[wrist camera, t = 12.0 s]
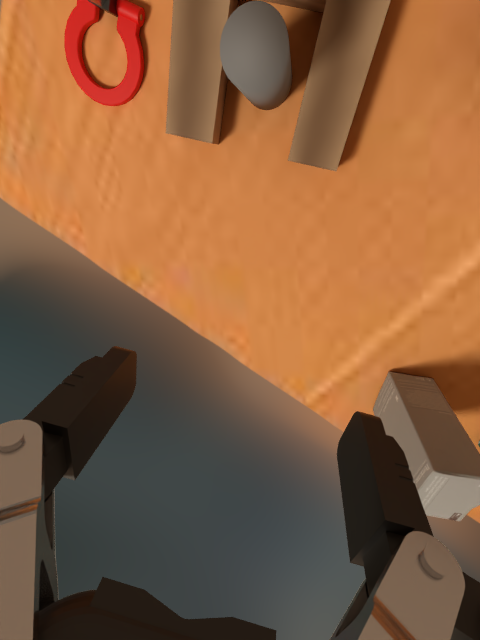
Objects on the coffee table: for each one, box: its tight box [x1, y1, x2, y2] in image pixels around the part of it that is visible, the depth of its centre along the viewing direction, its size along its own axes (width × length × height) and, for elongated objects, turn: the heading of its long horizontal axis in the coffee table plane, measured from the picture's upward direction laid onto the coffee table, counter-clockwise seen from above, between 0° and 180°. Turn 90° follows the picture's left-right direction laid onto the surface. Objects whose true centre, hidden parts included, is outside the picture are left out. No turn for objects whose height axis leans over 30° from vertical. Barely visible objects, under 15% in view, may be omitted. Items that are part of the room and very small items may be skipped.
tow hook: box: [65, 0, 145, 106], centre depth 27 cm, size 8×13×9 cm
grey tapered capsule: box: [220, 1, 292, 110], centre depth 26 cm, size 5×5×11 cm
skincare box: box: [373, 372, 480, 521], centre depth 39 cm, size 8×7×16 cm
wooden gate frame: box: [166, 0, 391, 171], centre depth 26 cm, size 18×14×10 cm
